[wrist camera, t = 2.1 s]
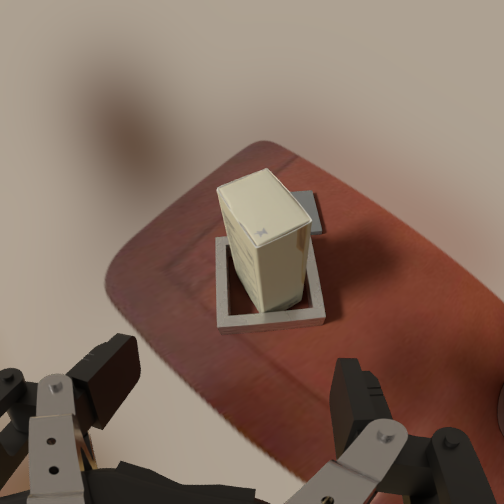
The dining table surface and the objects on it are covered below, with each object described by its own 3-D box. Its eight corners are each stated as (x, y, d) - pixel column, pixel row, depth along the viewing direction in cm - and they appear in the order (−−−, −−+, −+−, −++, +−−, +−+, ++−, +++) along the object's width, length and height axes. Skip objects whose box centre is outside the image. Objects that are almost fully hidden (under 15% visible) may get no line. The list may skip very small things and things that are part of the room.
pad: (321, 234, 34) (322, 230, 33) (267, 238, 34) (267, 235, 33) (311, 193, 37) (312, 190, 36) (262, 197, 37) (262, 194, 37)
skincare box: (303, 300, 30) (318, 223, 19) (263, 322, 29) (257, 253, 19) (270, 252, 33) (268, 164, 23) (233, 270, 32) (214, 186, 22)
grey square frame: (322, 325, 28) (325, 316, 26) (221, 334, 28) (217, 327, 27) (307, 241, 33) (308, 228, 32) (218, 249, 34) (215, 237, 32)
